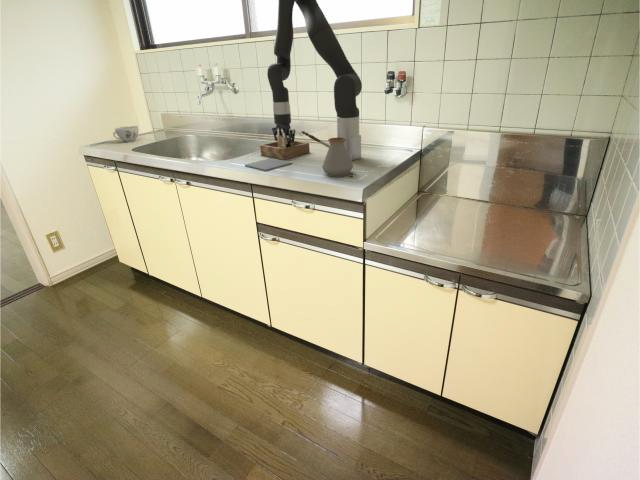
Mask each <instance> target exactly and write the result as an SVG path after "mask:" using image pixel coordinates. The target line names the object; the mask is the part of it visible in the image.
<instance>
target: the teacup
mask: <svg viewBox="0 0 640 480" xmlns="http://www.w3.org/2000/svg"><path fill="white" fill-rule="evenodd" d="M114 130H115V131H113V133H112V135H113V137H114V138H115V139H117V140H122V141H123V142H125V143H131V142H132V143H133V142H135V141H136V139H137V138H138V136H139V126H138V125H134V126H133V125H132V126H120V127H116V128H115V129H114ZM116 135H117V136H118V137H117V136H116Z"/></svg>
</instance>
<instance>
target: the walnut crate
mask: <svg viewBox="0 0 640 480" xmlns="http://www.w3.org/2000/svg"><path fill="white" fill-rule="evenodd" d="M259 146H260V147H259V148H260V155H261V156H265V157H270V158H273V159H278V160H283V161H285V160H286V159H288V160H289V159H291V158H295V157H298V156H301V155H305V154H310V142H308V141H307V142H306V141H300V140H294V142H292V146H291V147H287V148H278V142H277V141H271V142H268V143H264V144H263V143H262V144H259Z"/></svg>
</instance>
